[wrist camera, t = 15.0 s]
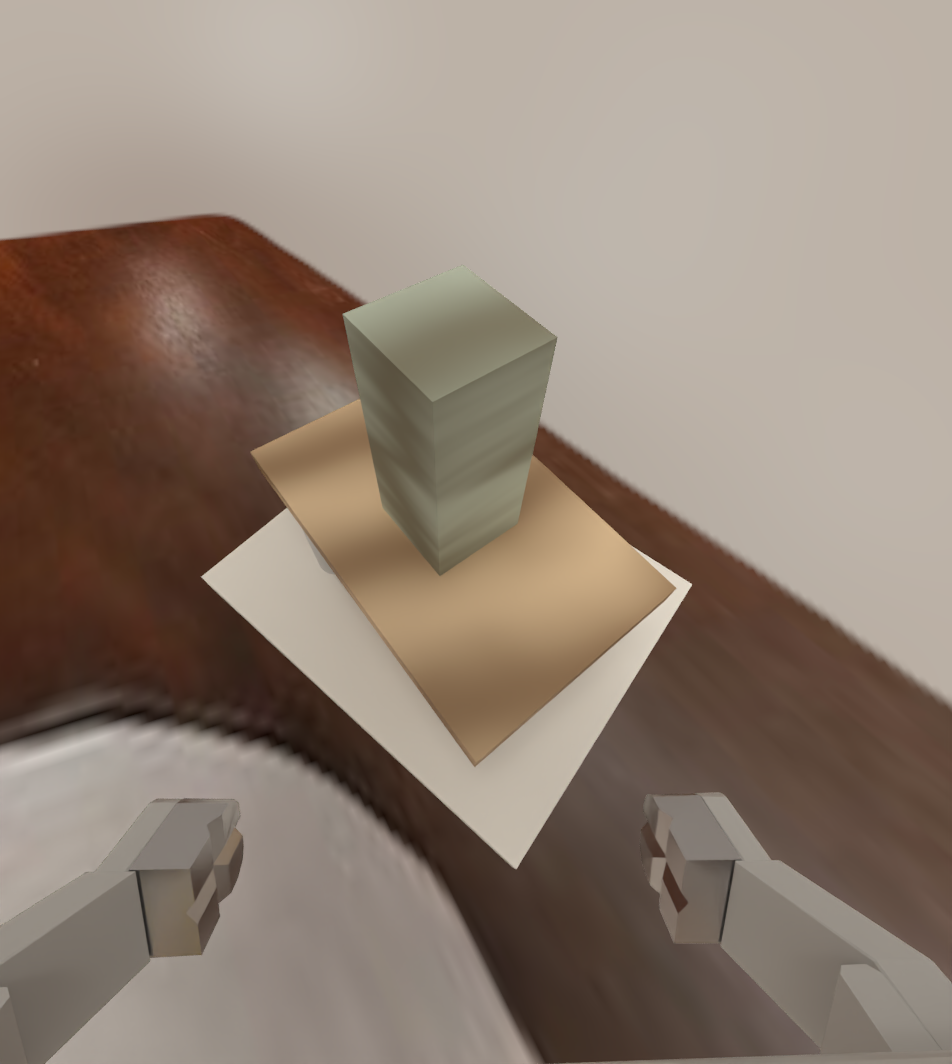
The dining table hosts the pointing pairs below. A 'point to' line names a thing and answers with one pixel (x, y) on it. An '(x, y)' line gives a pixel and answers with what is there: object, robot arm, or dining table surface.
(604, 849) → the dining table surface
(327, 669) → the peg plate
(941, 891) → the dining table surface
